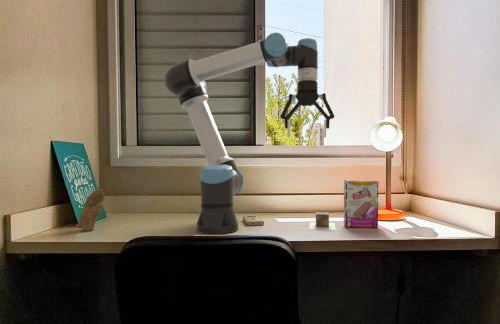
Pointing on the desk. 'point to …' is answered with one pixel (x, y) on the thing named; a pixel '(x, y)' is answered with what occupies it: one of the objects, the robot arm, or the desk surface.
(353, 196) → the candy bar box
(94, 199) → the figurine
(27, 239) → the desk surface
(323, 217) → the walnut block
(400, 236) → the desk surface
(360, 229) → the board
